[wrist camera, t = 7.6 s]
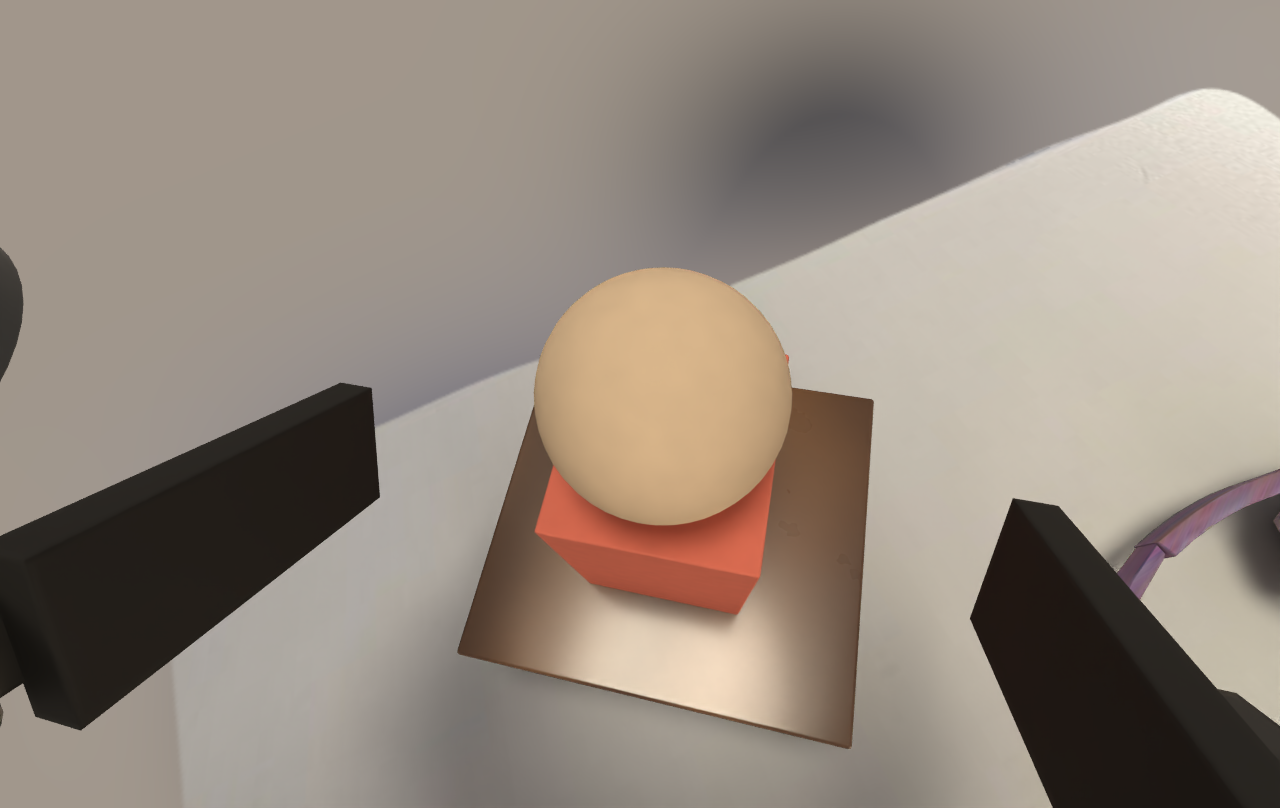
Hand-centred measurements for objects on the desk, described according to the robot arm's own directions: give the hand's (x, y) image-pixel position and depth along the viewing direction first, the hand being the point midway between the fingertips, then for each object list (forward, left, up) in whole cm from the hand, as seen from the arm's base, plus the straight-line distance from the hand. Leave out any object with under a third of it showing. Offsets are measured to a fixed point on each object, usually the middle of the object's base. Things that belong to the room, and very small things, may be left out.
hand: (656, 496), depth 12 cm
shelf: (0, +1, -14) cm, 14 cm away
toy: (0, +1, -8) cm, 8 cm away
